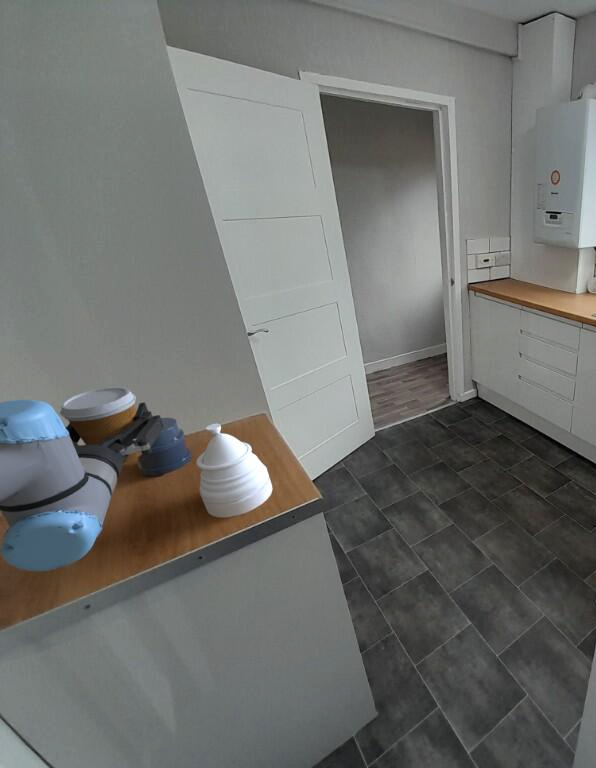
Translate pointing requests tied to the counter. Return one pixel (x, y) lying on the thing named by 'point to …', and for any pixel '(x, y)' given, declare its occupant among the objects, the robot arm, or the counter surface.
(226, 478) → the honey pot
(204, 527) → the counter surface
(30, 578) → the counter surface
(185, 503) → the counter surface
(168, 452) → the cup stack
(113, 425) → the disposable coffee cup
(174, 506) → the counter surface
